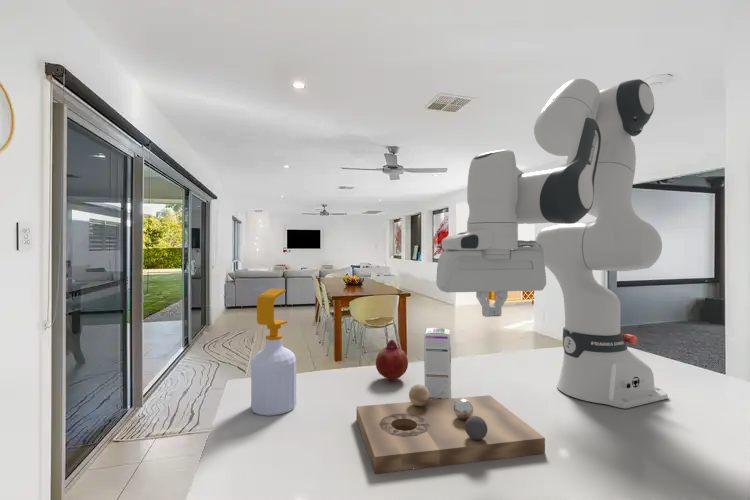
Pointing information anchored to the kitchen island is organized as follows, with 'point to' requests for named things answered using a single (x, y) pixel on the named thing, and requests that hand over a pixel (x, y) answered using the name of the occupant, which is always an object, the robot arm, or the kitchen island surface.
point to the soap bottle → (272, 364)
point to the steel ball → (463, 409)
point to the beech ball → (419, 395)
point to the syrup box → (437, 362)
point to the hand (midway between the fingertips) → (491, 316)
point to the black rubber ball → (476, 427)
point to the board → (442, 434)
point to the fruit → (391, 361)
